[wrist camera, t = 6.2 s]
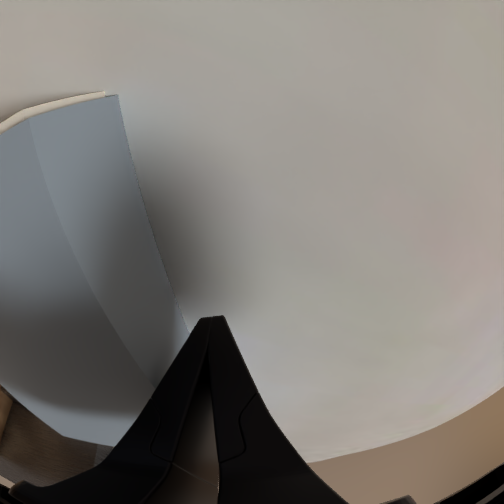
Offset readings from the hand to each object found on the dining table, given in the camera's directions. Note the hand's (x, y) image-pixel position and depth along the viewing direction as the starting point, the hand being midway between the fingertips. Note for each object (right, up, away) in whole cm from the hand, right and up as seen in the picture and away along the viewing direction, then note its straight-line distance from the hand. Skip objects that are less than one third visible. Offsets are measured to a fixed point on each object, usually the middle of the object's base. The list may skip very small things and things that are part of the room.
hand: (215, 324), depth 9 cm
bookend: (-16, -11, +8) cm, 21 cm away
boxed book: (-6, +1, +1) cm, 6 cm away
